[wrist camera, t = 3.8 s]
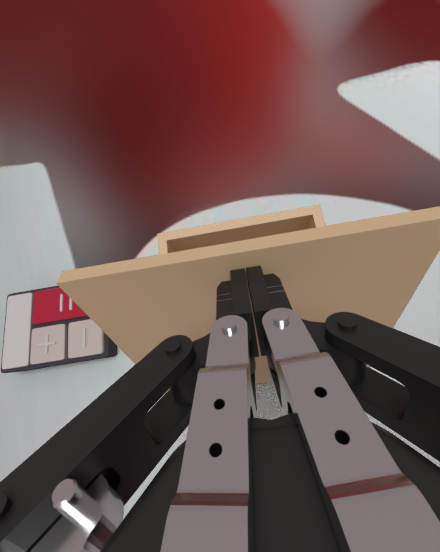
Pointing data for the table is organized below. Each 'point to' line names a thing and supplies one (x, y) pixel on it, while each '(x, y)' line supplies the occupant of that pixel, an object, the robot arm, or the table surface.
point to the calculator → (49, 332)
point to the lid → (273, 259)
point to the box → (241, 229)
